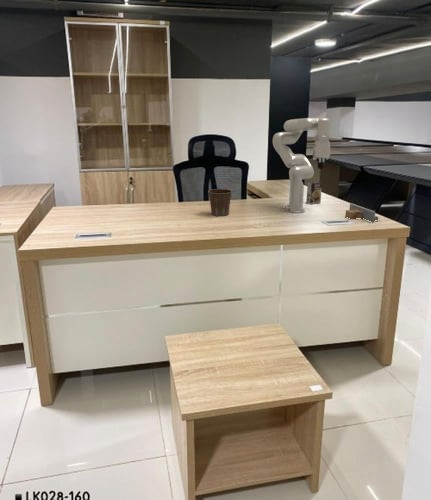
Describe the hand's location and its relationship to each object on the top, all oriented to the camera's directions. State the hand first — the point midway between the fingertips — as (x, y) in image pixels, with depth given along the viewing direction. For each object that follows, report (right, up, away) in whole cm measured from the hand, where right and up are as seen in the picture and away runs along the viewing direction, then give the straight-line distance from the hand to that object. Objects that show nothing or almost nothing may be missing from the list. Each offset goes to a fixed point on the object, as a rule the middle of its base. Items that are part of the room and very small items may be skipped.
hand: (320, 168), depth 271 cm
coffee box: (+8, -16, +55) cm, 58 cm away
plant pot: (-64, -28, +20) cm, 72 cm away
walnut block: (+24, -31, +9) cm, 40 cm away
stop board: (+31, -31, +10) cm, 45 cm away
